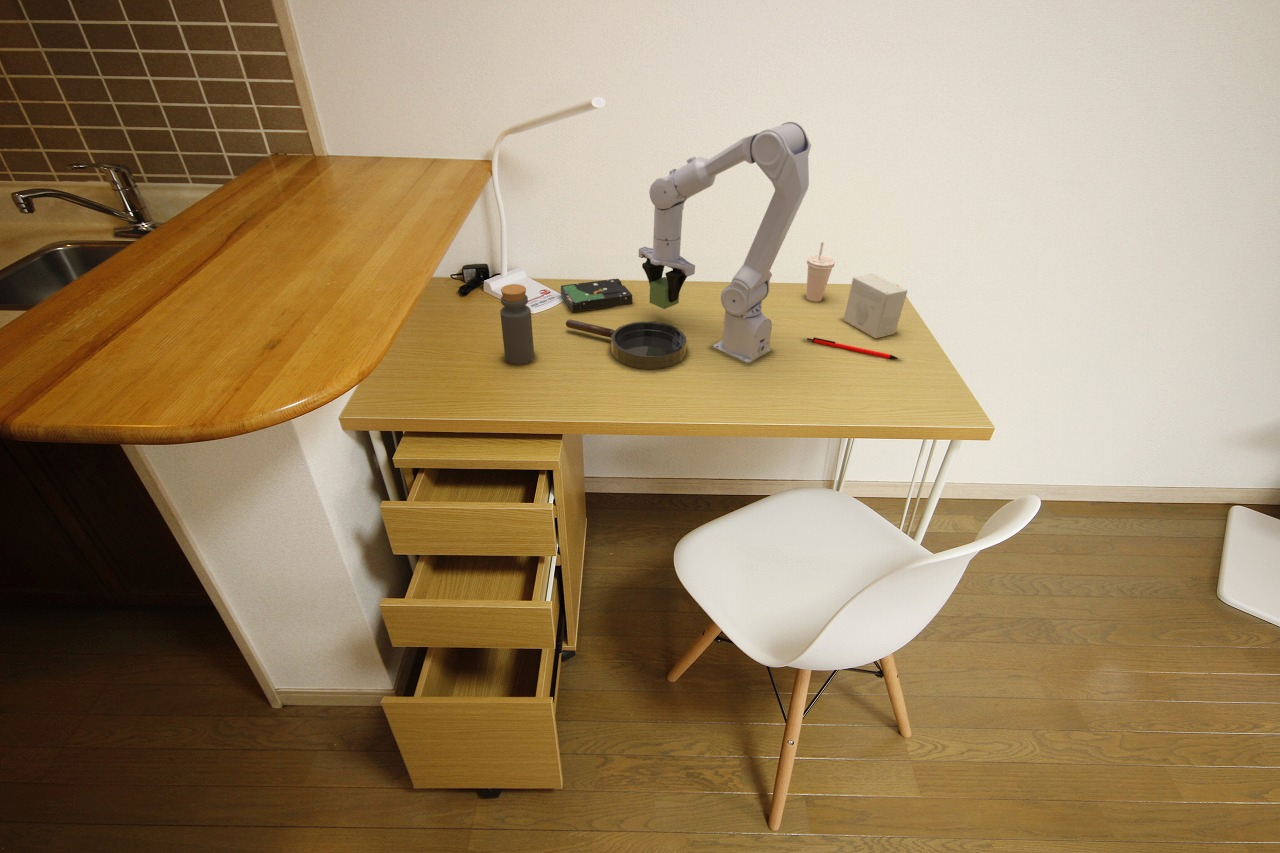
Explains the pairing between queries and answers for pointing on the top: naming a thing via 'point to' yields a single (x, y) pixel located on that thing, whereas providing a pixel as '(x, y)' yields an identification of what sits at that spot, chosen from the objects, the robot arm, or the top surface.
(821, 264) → the smoothie
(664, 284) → the block
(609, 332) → the skillet handle
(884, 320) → the cosmetics box
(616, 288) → the disk drive
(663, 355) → the skillet
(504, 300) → the bottle
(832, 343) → the pen
